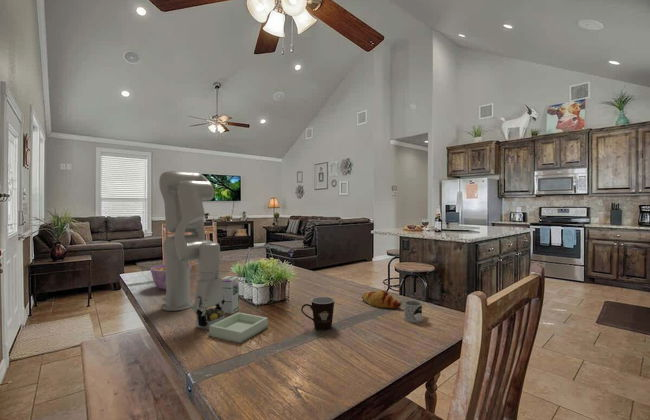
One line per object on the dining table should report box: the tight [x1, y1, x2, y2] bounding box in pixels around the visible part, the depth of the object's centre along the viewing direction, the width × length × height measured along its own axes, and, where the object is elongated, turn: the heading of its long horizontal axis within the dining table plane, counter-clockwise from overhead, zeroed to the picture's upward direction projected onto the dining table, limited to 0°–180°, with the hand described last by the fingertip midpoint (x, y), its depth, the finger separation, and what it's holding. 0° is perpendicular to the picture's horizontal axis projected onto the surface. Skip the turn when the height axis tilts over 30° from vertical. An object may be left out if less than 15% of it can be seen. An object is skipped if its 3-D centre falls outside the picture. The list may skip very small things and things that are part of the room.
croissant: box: [361, 290, 402, 309], centre depth 144 cm, size 21×10×8 cm, turn 46°
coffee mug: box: [301, 296, 335, 331], centre depth 119 cm, size 12×9×10 cm
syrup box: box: [221, 275, 240, 315], centre depth 136 cm, size 6×6×14 cm
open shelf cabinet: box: [195, 307, 226, 331], centre depth 120 cm, size 7×7×5 cm
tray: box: [208, 312, 269, 344], centre depth 114 cm, size 14×15×4 cm
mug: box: [403, 300, 423, 324], centre depth 126 cm, size 10×7×7 cm
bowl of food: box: [150, 264, 192, 291], centre depth 172 cm, size 20×20×12 cm
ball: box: [210, 313, 218, 321], centre depth 122 cm, size 3×3×3 cm
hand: (210, 321), depth 120 cm, fingers closed on open shelf cabinet, 7 cm apart
